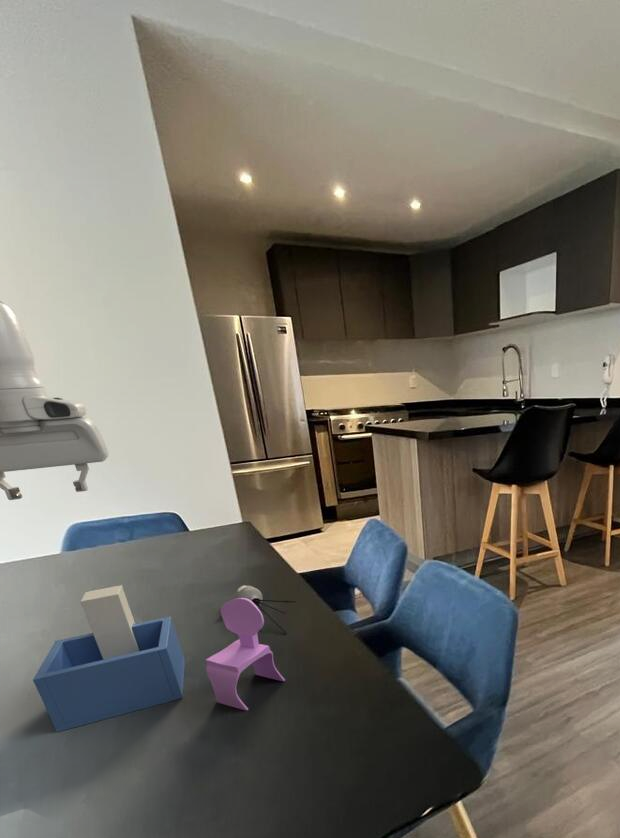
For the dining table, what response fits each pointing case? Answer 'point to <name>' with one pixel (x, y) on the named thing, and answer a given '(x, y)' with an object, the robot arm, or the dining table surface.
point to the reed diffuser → (256, 599)
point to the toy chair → (240, 652)
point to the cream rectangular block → (110, 621)
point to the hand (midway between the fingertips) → (49, 495)
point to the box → (110, 676)
